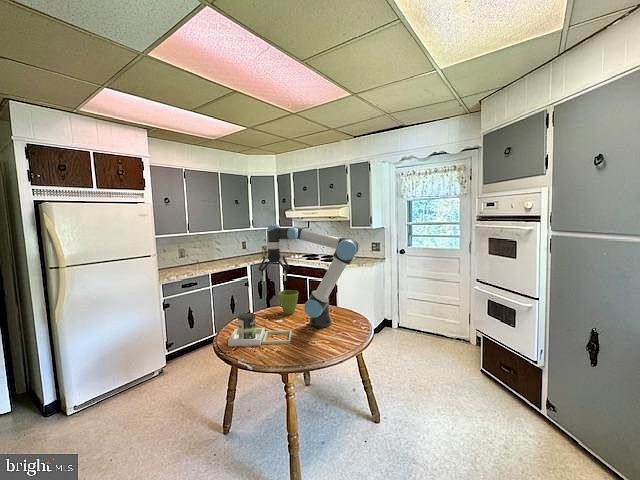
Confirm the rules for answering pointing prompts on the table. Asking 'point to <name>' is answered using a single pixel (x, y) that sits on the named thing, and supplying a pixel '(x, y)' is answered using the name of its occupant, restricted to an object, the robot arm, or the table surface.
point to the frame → (277, 340)
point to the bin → (246, 342)
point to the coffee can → (246, 326)
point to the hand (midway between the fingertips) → (274, 280)
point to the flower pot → (288, 300)
